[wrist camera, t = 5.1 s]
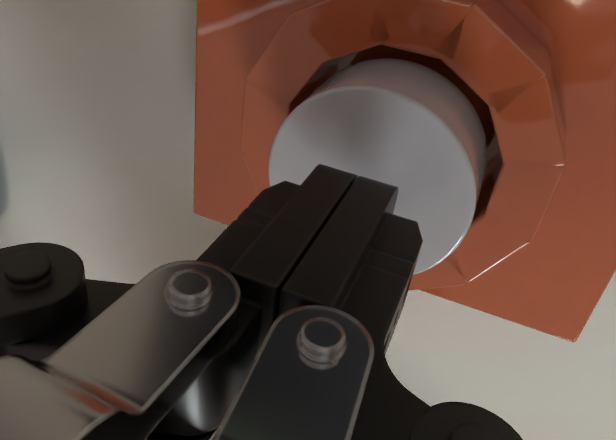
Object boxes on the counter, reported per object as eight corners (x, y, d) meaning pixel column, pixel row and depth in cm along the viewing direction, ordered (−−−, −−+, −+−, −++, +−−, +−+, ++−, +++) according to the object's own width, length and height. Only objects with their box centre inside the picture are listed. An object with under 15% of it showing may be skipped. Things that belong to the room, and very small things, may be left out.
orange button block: (231, 177, 21) (161, 242, 17) (249, -127, 15) (152, -126, 12) (574, 286, 18) (576, 391, 14) (742, -39, 13) (813, -1, 9)
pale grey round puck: (292, 202, 15) (259, 243, 13) (314, 36, 13) (277, 61, 11) (456, 255, 14) (442, 306, 12) (515, 86, 12) (507, 121, 10)
